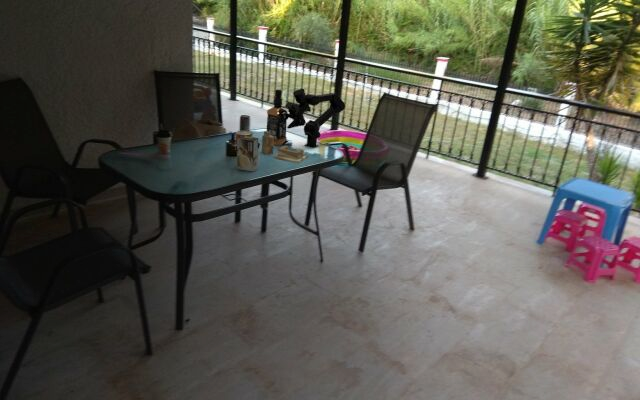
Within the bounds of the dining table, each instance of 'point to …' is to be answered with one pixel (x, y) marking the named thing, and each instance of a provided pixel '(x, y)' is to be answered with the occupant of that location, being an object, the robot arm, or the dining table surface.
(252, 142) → the coffee box
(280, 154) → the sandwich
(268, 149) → the rail end
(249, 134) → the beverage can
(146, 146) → the dining table surface
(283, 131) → the whiskey bottle
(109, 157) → the dining table surface
